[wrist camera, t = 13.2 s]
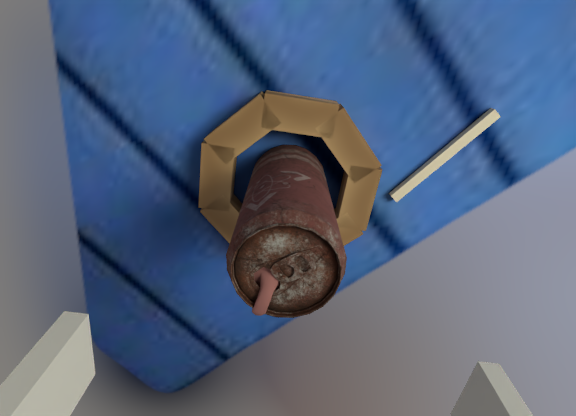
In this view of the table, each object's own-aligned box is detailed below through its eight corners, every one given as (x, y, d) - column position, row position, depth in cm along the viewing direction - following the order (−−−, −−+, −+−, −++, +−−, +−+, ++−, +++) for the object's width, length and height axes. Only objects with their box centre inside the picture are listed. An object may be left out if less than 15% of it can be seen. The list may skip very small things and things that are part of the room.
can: (242, 200, 31) (207, 308, 18) (266, 132, 28) (244, 201, 15) (307, 222, 31) (317, 341, 19) (335, 158, 29) (370, 244, 16)
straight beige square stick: (394, 199, 30) (396, 202, 30) (389, 193, 30) (390, 195, 30) (496, 115, 27) (500, 116, 27) (490, 108, 27) (494, 109, 27)
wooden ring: (210, 81, 26) (204, 83, 25) (390, 109, 27) (397, 113, 25) (201, 240, 32) (196, 252, 30) (350, 260, 33) (354, 273, 31)
